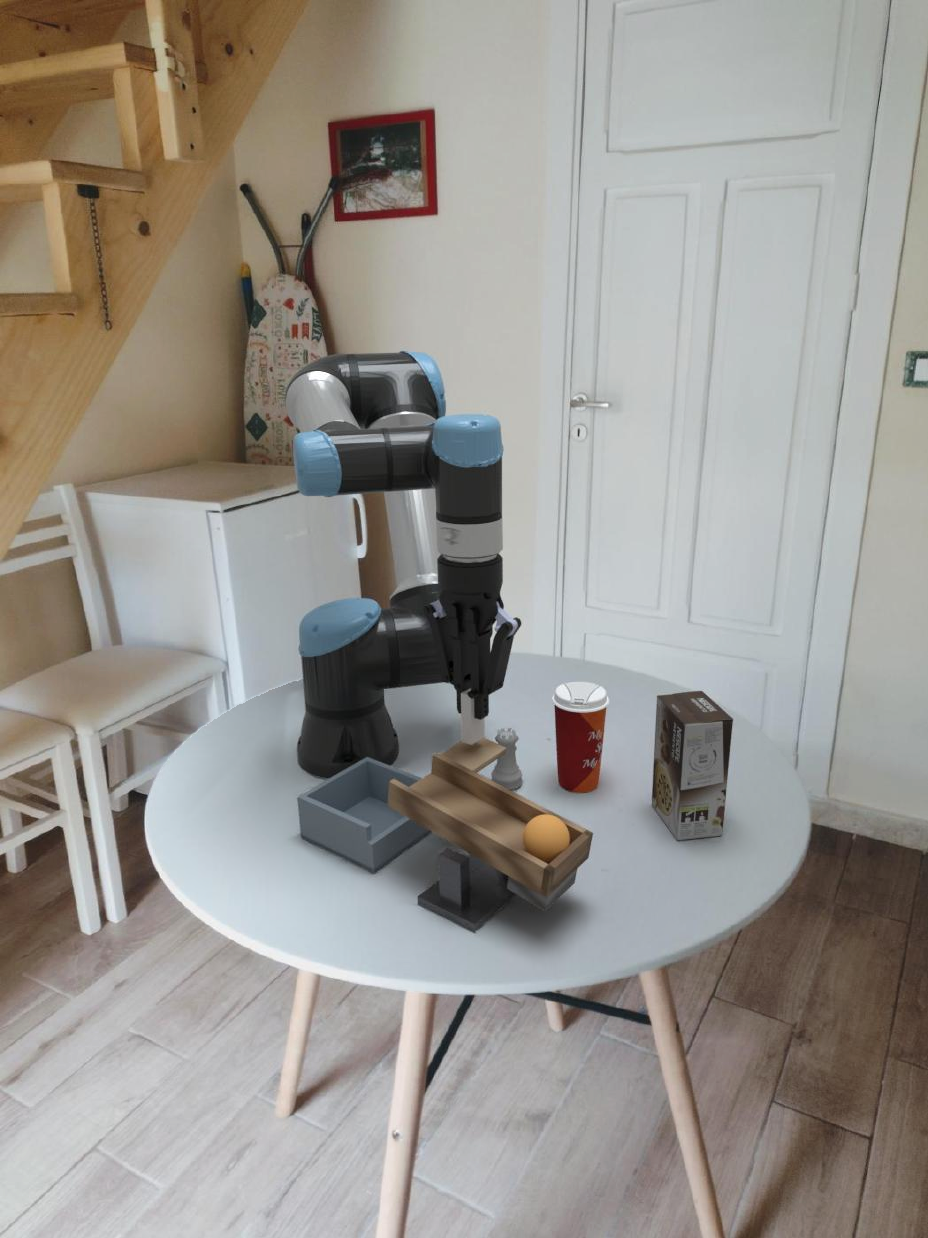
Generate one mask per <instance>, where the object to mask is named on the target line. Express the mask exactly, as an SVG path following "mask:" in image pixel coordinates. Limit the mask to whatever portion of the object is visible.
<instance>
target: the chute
mask: <svg viewBox="0 0 928 1238" xmlns="http://www.w3.org/2000/svg"><path fill="white" fill-rule="evenodd" d="M505 753H506V748H505V747H503V746H501V745H499V744H498V743H497V742H496V741H493V740H491V739H489V738H487V737H486V736H485V737H484V738H482V739H480V740H479V741H477V742H476V743H474V744H472V745H470V744H467V743H464V742H462V740H460V741H458V742H457V743H455V744H453V745H452V746H450V747H449V748H447V749H446V750H444V751H442V752H440V753H439V752H435V753H433V754H432V756H431V769H430V773H428V774H427V775H425V776H424V777H421V778H422V779H420V780H419V781H417V782H416V783H414V784H413V785H411V786H409V787H408V786H406V785H404V784H403V783H401V782H399V781H397V780H395V779H393V780H391V781H389V792H388V806H389V807H390V808H392V809H394V810H396V811H397V812H399V813H401V814H402V815H404V816H406V817H408V818H409V819H411V820H413V821H415V822H416V823H418V824H420V825H421V826H423V827H425V828H427V829H428V830H430V831H432V832H431V833H434V834H435V835H437V836H438V837H440V838H442V839H444V840H446V841H448V842H449V843H451V844H452V845H454V846H455V847H457V848H458V849H459V848H460V849H461V850H463V851H465V852H466V853H468V854H469V855H470V854H471V855H473V856H475V857H477V858H478V859H480V860H482V861H484V862H485V863H487V864H489V865H490V866H492V867H494V868H496V869H497V870H499V871H501V872H502V873H504V874H506V875H508V876H509V877H508V884H507V889H508V890H510V891H512V892H513V893H515V894H517V895H516V896H518V897H520V898H522V899H524V900H526V901H527V902H529V903H530V904H532V905H534V906H536V907H537V908H539V909H541V910H543V911H544V912H546V911H547V910H549V908H550V907H552V906H553V905H554V904H555V903H556V902H557V901H558V900H559V899H560V898H561V897H562V896H563V895H564V894H565V893H566V892H567V891H568V890H569V889H570V888H571V887H572V886H573V885H574V884H575V883H576V878H577V872H578V868H579V867H581V866H582V865H583V864H584V863H585V862H586V861H587V860H588V859H589V857H590V852H591V846H592V841H593V836H594V832H593V831H590V830H588V829H586V828H584V827H582V826H580V825H579V824H577V823H574V822H573V821H571V820H569V819H567V818H566V817H563V816H561V815H559V814H558V813H556V812H553V811H552V810H550V809H547V808H546V807H544V806H542V805H540V804H538V803H536V802H534V801H532V800H530V799H529V798H526V797H524V796H522V795H520V794H519V793H516V792H515V791H513V790H509V789H507V788H505V787H503V786H501V785H499V784H497V783H495V782H493V781H491V779H489V778H487V777H485V776H483V775H481V773H479V772H480V771H482V770H483V769H485V768H486V767H488V766H489V765H492V763H494V762H495V761H497V759H498V758H500V757H501V756H503V755H504V754H505ZM544 814H547V815H553V816H555V817H557V818H559V819H560V820H561V821H563V823H564V824H565V825H566V827H567V829H568V831H569V836H570V843H569V846H568V847H567V848H566V849H565V850H564V851H563V852H562V853H560V854H559V855H558V856H557V857H556V858H555V859H554V860H553V861H552V862H549V863H545V862H543V861H541V860H540V859H538V858H536V857H534V856H532V855H531V854H529V853H528V852H527V851H526V849H525V847H524V844H523V833H524V829H525V827H526V825H527V824H528V822H529V821H530V820H531V819H533V818H534V817H536V816H539V815H544Z"/></svg>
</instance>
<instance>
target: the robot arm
mask: <svg viewBox="0 0 928 1238" xmlns="http://www.w3.org/2000/svg"><path fill="white" fill-rule="evenodd" d="M445 391H446V390H445V385H444V381H443V377H442V375H441V371H440V368H439V366H438V364H437V362H436V360H435V359H434V358H433V357H432V356H431V355H430V354H428V353H426V352H423V351H422V352H419V351H418V352H416V351H415V352H413V351H408V350H401V351H399V352H374V353H373V352H369V353H366V352H365V353H335V354H330V355H327V356H322V357H320V358H318V359H314V360H313V361H311V362H309V363H307V364H306V365H305V366H303V367H302V368H300V369H299V370H298V371H297V372H296V373H295V374H294V375H293V376H292V377H291V378H290V381H289V382H288V383H287V387H286V389H285V392H284V393H285V394H284V405H285V410H286V414H287V416H288V419H289V420H290V422H291V423H292V424H293V426H294V427H295V428H296V429H298V430H299V433H297V434H295V435H294V437H293V441H292V454H293V465H294V466H293V467H294V474H295V482H296V488H297V491H298V492H299V493H300V494H301V495H302V496H306V497H325V498H331V497H335V496H336V497H337V496H348V495H361V494H376V493H383V495H384V502H385V508H386V515H387V516H386V517H387V523H388V529H389V536H390V543H391V549H392V556H393V564H394V571H395V577H396V578H395V579H396V584H397V588H396V589H395V590H394V591H393V593H392V594H391V595H390V597H389V606H390V607H389V608H381V606H380V604H379V603H378V602H377V601H376V600H374V599H372V598H367V597H362V598H359V597H350V598H349V597H348V598H342V599H337V600H333V601H331V602H330V601H329V602H327V603H324V604H321V605H320V606H317V607H315V608H313V609H312V610H310V611H309V612H308V613H306V614H305V615H304V616H303V618H302V619H301V621H300V624H299V628H298V630H299V631H298V632H299V633H298V634H299V640H298V641H299V645H298V654H299V655H300V659H301V669H302V671H301V672H302V686H303V697H304V709H305V710H304V711H305V712H304V716H303V719H302V725H301V729H300V730H301V731H300V736H299V738H298V740H297V744H296V754H297V755H296V757H297V764H298V765H299V767H300V768H301V769H302V770H303V771H305V773H307V774H310V775H312V776H314V777H318V778H322V779H326V780H327V779H329V778H331V777H333V776H334V775H336V774H338V773H340V772H341V771H343V770H345V769H347V768H349V767H350V766H352V765H354V764H356V763H357V762H359V761H361V760H363V759H364V758H366V757H369V758H371V759H374V760H377V761H379V762H382V763H384V764H387V765H390V766H392V765H393V764H394V763H395V762H396V760H397V759H398V757H399V756H400V743H399V742H400V741H399V736H398V733H397V731H396V729H395V728H394V724H393V721H392V718H391V716H390V714H389V711H388V708H387V706H386V701H385V690H388V689H398V688H399V689H400V688H409V687H416V686H425V685H434V684H435V685H436V684H442V683H445V684H451V685H452V686H453V688H454V689H455V691H456V711H457V714H460V716H461V717H460V718H461V720H460V721H461V741H462V742H464V743H467V744H470V745H472V744H474V743H476V742H477V741H479V740H480V739H482V738H484V737H485V738H486V736H485V734H486V733H485V732H486V731H485V726H486V725H485V723H486V722H485V718H487V717H488V716H489V713H490V706H489V705H490V699H489V698H490V696H489V695H492V694H493V693H495V692H497V691H498V690H500V689H502V688H503V686H504V683H505V680H506V674H507V670H508V665H509V660H510V656H511V651H512V647H513V642H514V638H515V636H516V633H517V632H518V631H519V629H520V628H521V627H522V620H521V619H520V618H519V617H513V618H512V617H511V616H510V615H509V614H508V613H507V612H506V610H505V609H504V608H505V605H504V601H503V599H502V597H501V590H502V586H503V583H504V582H503V581H504V572H503V571H504V569H503V568H504V566H503V564H504V563H503V561H504V559H503V556H502V555H501V554H500V553H501V551H503V550H504V549H503V548H504V543H503V541H504V540H503V539H504V538H503V537H504V535H503V534H504V533H503V531H504V530H503V528H504V527H503V455H504V453H503V452H504V445H503V440H502V439H503V438H502V426H501V423H500V420H498V418H497V417H495V416H492V415H489V414H488V415H487V414H485V415H484V414H481V413H480V414H477V413H476V414H475V413H473V414H472V413H471V414H470V413H468V414H466V413H463V414H452V415H451V414H450V415H449V414H448V415H446V412H447V400H446V397H445V394H446V392H445ZM495 623H496V625H495V627H494V629H493V625H494V624H495ZM493 630H494V631H495V632H496V633H495V635H494V637H493V632H494V631H493ZM492 637H493V640H492V644H491V638H492Z"/></svg>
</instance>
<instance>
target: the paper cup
mask: <svg viewBox="0 0 928 1238" xmlns="http://www.w3.org/2000/svg"><path fill="white" fill-rule="evenodd" d="M607 694H608V693H607V691H606V689H605V688H604V687H603V686H601V685H599V684H596V683H593V682H589V681H588V682H587V681H571V682H570V681H569V682H566V683H562V684H560V685H558V686H557V687H556V689H555V692H554V694H553V695H552V698H551V702H552V704H553V705H554V724H555V746H556V748H555V749H556V765H557V767H556V768H557V780H558V781H557V782H558V785H559V787H561V789H563V790H565V791H567V792H569V793H577V794H586V793H589V792H592V791H594V790H595V789H597V788H598V786H599V780H600V774H601V772H600V771H601V766H602V765H601V764H602V757H603V756H602V754H603V744H604V735H605V725H606V724H605V723H606V717H607V707H608V706H609V704H610V698H609V697H608V695H607Z"/></svg>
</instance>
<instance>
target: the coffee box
mask: <svg viewBox="0 0 928 1238" xmlns="http://www.w3.org/2000/svg"><path fill="white" fill-rule="evenodd" d="M655 707H656V709H655V727H654V746H653V747H654V749H653V765H652V766H653V770H652V793H651V806H652V807H653V809H654V810H655V812H656V813H657V814H658V816H659V817H660V818H661V820H662V821H663V823H664V824H665V826H666V828H668V829H669V831H670V832H671V834H672V835H673V837H674V838H675V839H676V840H677V841H683V840H692V839H694V840H695V839H702V838H711V837H720V836H721V837H722V835H723V832H724V821H725V819H724V818H725V811H726V810H725V808H726V800H727V788H728V779H729V778H728V777H729V768H730V767H729V766H730V756H731V746H732V735H733V734H732V733H733V725H734V718H733V717H732V716H730V714H729V713H727V712H726V711H725V710H724V709H723V708H722V707H720V706H719V704H717V703H716V702H715V701H714V700H713V699H712V698H710V696H708V695H707V694H706V693H705V692H704V691H703V690H694V691H693V690H692V691H685V692H684V691H683V692H677V693H671V694H661V695H656V706H655Z"/></svg>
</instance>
